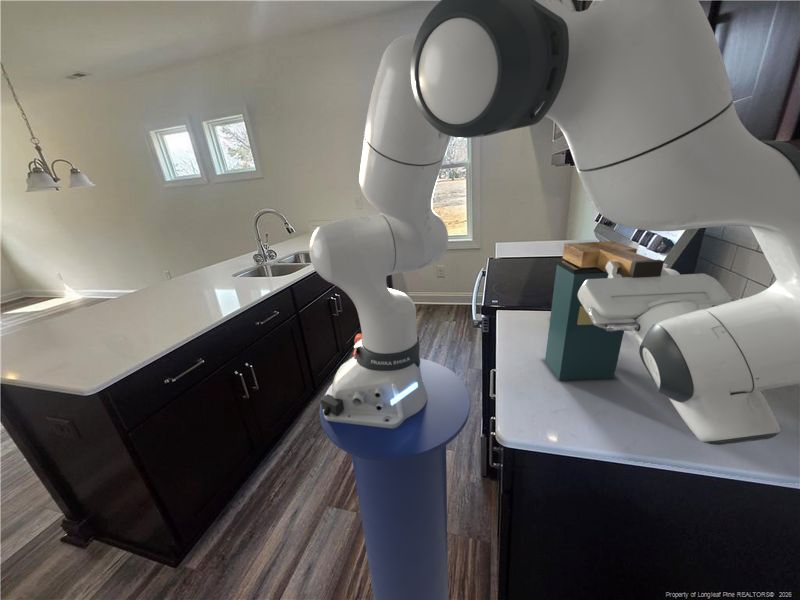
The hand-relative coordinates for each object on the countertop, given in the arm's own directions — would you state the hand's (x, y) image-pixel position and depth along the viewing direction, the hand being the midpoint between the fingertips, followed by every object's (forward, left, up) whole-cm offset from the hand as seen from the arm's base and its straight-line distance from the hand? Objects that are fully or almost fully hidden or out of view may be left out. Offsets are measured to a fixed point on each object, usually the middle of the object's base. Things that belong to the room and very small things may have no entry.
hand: (627, 262), depth 56 cm
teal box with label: (0, +9, -28) cm, 30 cm away
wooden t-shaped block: (0, +4, -2) cm, 5 cm away
